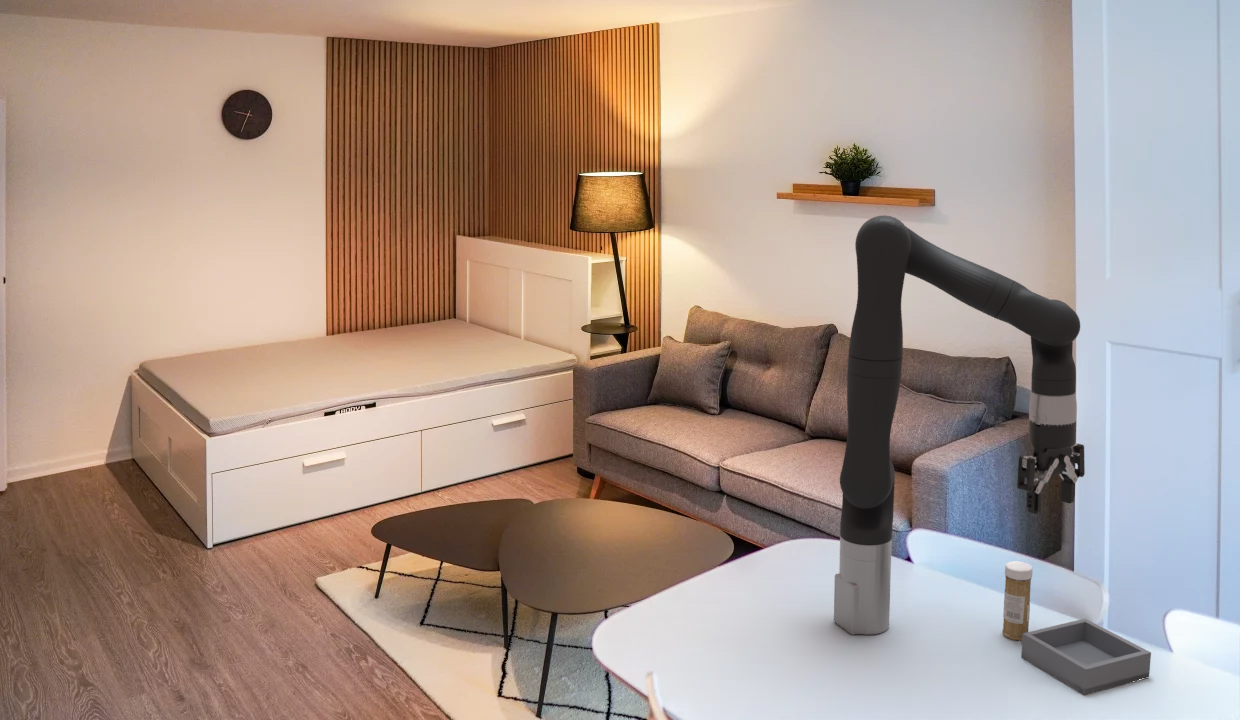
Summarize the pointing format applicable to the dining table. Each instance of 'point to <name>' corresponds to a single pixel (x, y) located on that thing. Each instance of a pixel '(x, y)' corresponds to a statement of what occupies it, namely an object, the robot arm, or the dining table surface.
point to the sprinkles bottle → (1016, 599)
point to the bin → (1085, 656)
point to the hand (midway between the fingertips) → (1050, 507)
